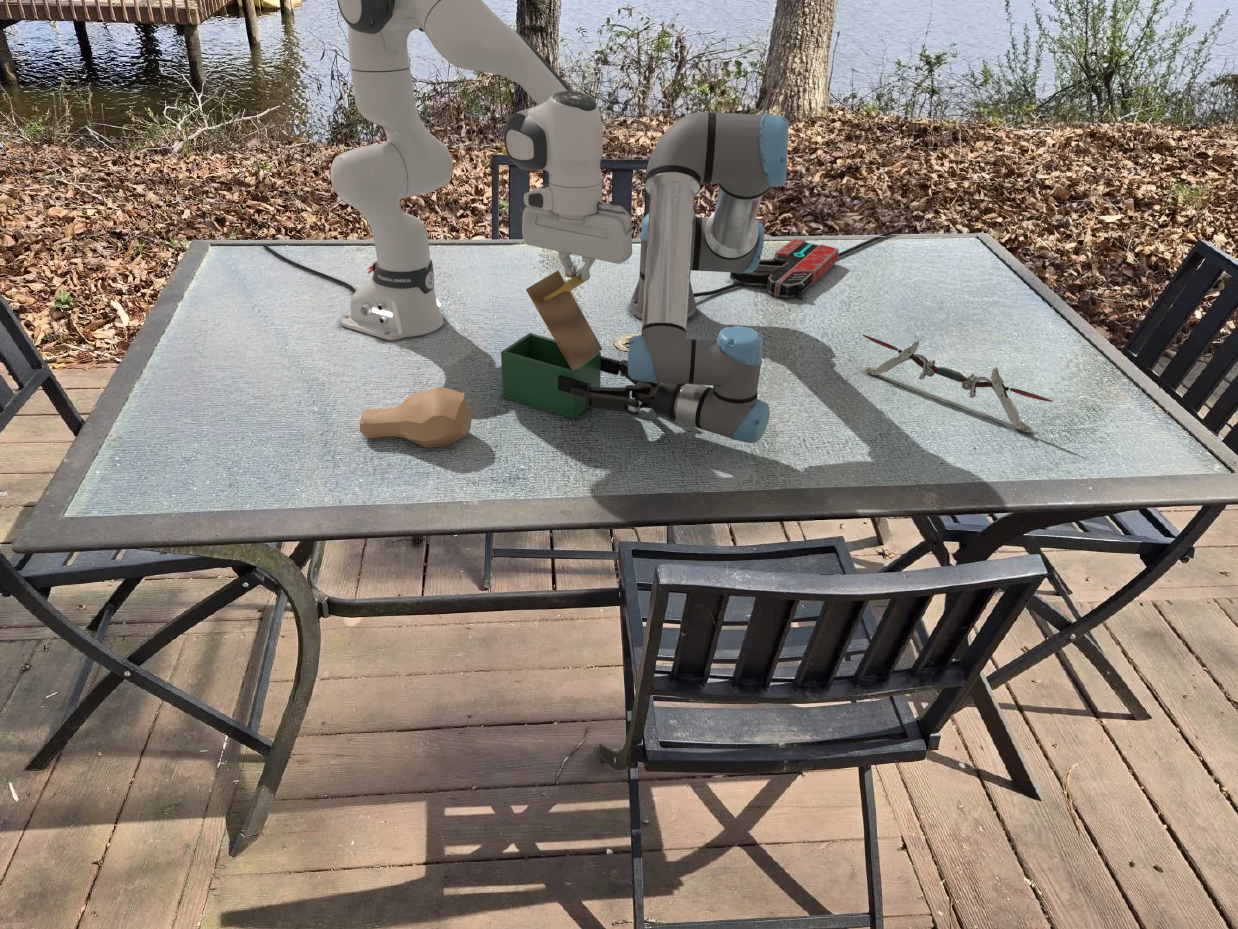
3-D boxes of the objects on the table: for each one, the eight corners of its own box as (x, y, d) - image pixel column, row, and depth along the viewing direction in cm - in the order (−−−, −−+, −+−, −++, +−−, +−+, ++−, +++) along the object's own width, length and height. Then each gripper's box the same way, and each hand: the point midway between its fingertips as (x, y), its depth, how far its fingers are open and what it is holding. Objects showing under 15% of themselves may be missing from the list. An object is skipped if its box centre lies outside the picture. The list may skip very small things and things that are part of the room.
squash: (473, 454, 152) (461, 415, 146) (361, 463, 154) (345, 424, 148) (480, 414, 160) (469, 375, 154) (374, 422, 162) (359, 384, 155)
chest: (503, 397, 169) (500, 351, 164) (531, 376, 176) (529, 332, 171) (574, 419, 163) (574, 372, 158) (600, 396, 170) (601, 352, 165)
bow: (1043, 434, 162) (1060, 387, 156) (1039, 438, 161) (1056, 390, 155) (858, 366, 183) (867, 322, 178) (854, 369, 182) (862, 324, 177)
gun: (726, 267, 216) (800, 286, 208) (775, 231, 238) (843, 246, 230) (724, 284, 219) (797, 304, 211) (772, 247, 241) (840, 263, 233)
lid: (525, 289, 154) (556, 271, 149) (555, 271, 161) (585, 254, 156) (572, 371, 158) (604, 356, 153) (599, 350, 165) (630, 336, 160)
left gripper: (640, 203, 144) (638, 283, 151) (536, 184, 152) (538, 261, 160) (621, 213, 139) (620, 295, 147) (515, 193, 147) (519, 272, 155)
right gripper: (652, 448, 149) (541, 414, 158) (706, 393, 165) (603, 365, 174) (654, 410, 145) (540, 377, 153) (709, 357, 161) (604, 330, 170)
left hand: (577, 277), depth 153 cm, fingers closed, pressing on lid
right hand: (574, 370), depth 164 cm, fingers closed on chest, 10 cm apart
